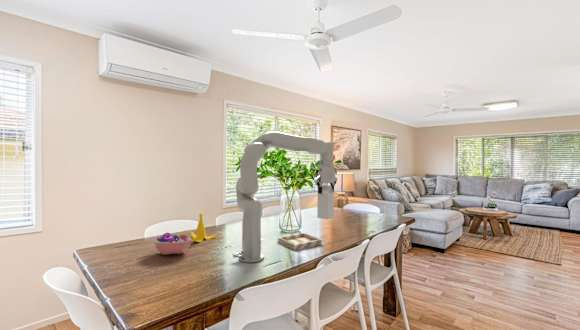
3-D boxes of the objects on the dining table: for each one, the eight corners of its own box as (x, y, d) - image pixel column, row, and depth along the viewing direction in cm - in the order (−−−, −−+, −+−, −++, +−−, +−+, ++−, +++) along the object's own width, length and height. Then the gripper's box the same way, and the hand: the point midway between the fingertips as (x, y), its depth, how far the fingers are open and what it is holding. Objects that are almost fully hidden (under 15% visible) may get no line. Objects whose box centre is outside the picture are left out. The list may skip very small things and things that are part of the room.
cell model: (180, 260, 141) (180, 238, 141) (145, 257, 145) (145, 236, 145) (198, 250, 158) (198, 230, 157) (166, 247, 162) (166, 228, 161)
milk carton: (327, 219, 159) (328, 186, 158) (317, 218, 163) (317, 185, 163) (333, 217, 164) (334, 185, 164) (323, 216, 169) (323, 184, 168)
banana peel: (192, 245, 167) (192, 217, 166) (189, 236, 184) (189, 211, 184) (220, 241, 174) (220, 214, 173) (215, 234, 191) (215, 209, 191)
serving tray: (294, 250, 158) (294, 245, 158) (277, 242, 172) (277, 237, 172) (321, 244, 169) (321, 239, 169) (303, 237, 184) (303, 232, 184)
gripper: (319, 163, 155) (318, 194, 155) (341, 163, 165) (341, 192, 165) (310, 163, 161) (310, 193, 162) (333, 163, 171) (332, 191, 171)
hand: (325, 192), depth 163 cm, fingers closed on milk carton, 8 cm apart
